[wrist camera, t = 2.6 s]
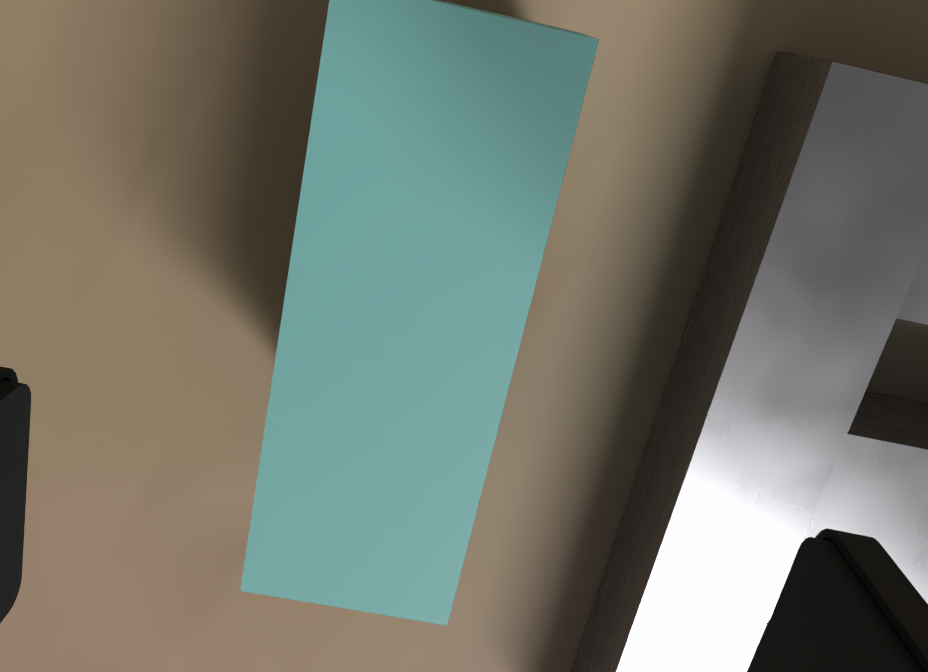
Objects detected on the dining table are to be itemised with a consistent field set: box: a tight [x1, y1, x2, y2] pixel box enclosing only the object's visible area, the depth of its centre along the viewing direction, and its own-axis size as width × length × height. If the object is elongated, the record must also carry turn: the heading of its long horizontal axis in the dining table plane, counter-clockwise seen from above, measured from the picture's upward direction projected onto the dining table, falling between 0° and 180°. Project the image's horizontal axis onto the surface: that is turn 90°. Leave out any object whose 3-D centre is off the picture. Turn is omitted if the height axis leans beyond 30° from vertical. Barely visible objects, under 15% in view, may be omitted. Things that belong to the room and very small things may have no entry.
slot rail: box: [572, 51, 928, 672], centre depth 22 cm, size 12×20×3 cm, turn 168°
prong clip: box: [240, 0, 599, 625], centre depth 18 cm, size 4×11×6 cm, turn 168°
